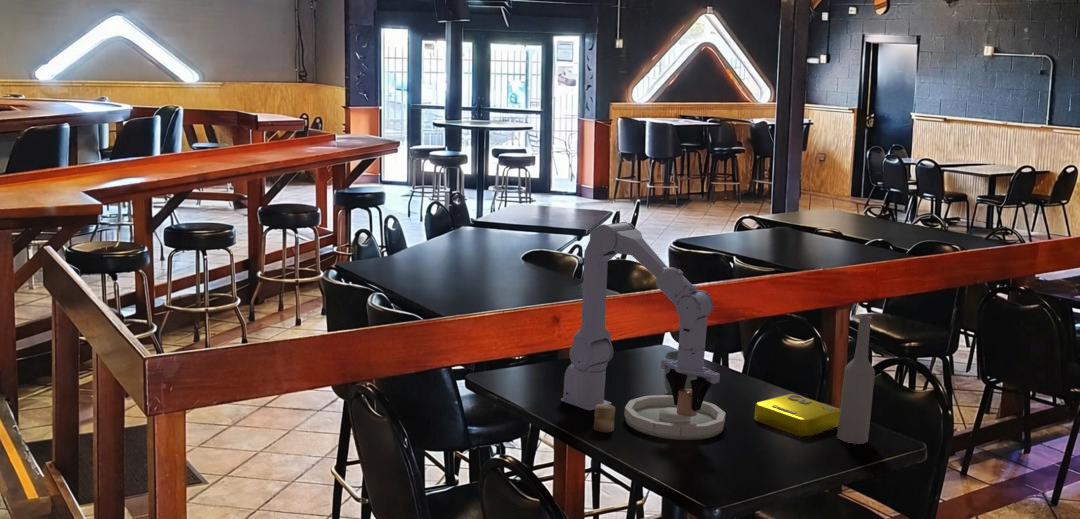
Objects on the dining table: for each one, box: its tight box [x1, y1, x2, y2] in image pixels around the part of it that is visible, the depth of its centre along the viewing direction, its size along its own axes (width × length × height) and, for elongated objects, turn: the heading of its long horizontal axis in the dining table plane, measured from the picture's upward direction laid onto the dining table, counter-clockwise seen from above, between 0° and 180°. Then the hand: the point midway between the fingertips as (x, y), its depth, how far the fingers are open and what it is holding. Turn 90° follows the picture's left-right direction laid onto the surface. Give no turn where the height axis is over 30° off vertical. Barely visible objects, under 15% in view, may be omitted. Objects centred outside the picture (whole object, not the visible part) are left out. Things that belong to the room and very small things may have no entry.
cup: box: [663, 350, 697, 395], centre depth 257 cm, size 8×8×10 cm
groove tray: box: [623, 394, 726, 441], centre depth 236 cm, size 22×22×3 cm
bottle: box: [836, 314, 876, 445], centre depth 229 cm, size 7×7×28 cm
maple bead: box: [593, 404, 616, 433], centre depth 230 cm, size 4×4×5 cm
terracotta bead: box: [677, 389, 697, 417], centre depth 229 cm, size 4×4×5 cm
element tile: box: [754, 393, 840, 437], centre depth 241 cm, size 15×15×5 cm
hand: (687, 407), depth 229 cm, fingers closed on terracotta bead, 4 cm apart
